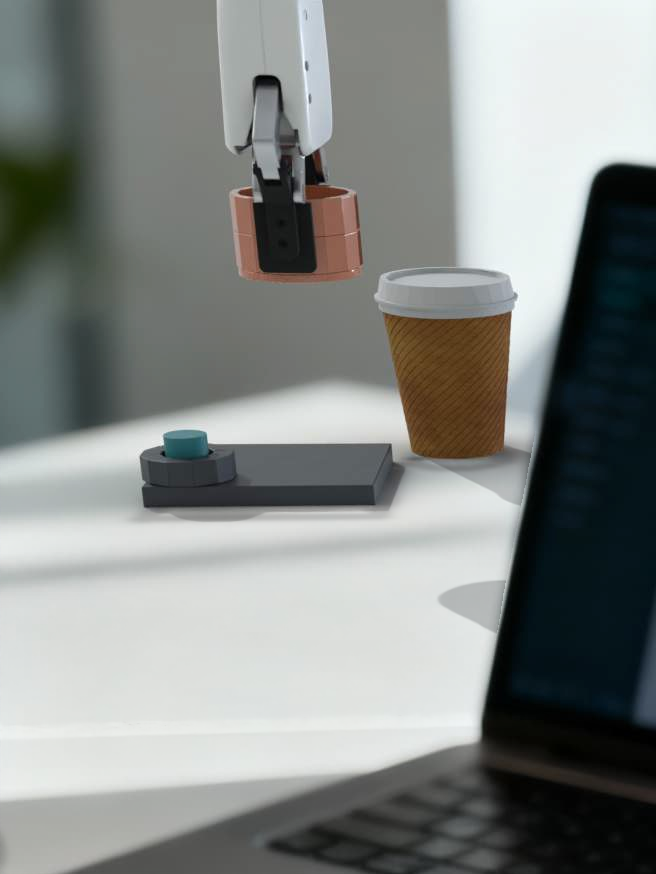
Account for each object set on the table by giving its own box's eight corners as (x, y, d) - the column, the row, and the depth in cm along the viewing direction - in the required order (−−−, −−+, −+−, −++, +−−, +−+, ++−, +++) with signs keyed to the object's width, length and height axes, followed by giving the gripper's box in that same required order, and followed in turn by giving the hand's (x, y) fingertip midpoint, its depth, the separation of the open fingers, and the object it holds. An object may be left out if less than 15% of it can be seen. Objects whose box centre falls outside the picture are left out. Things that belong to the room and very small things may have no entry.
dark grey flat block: (138, 509, 149) (132, 462, 148) (173, 464, 160) (168, 420, 159) (375, 507, 152) (370, 461, 151) (393, 463, 163) (389, 419, 162)
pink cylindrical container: (229, 282, 140) (219, 198, 138) (250, 263, 146) (241, 183, 144) (354, 283, 141) (347, 200, 139) (369, 265, 148) (362, 185, 146)
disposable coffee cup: (541, 460, 166) (530, 285, 161) (400, 469, 162) (385, 290, 157) (511, 431, 173) (500, 263, 169) (376, 439, 169) (361, 268, 165)
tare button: (162, 462, 150) (159, 438, 149) (169, 453, 152) (166, 429, 152) (205, 462, 150) (203, 438, 150) (212, 453, 153) (209, 429, 152)
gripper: (227, -60, 144) (258, 239, 151) (168, -49, 128) (206, 285, 135) (356, -56, 145) (381, 241, 152) (314, -45, 129) (344, 286, 136)
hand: (299, 259), depth 143 cm, fingers closed on pink cylindrical container, 7 cm apart
